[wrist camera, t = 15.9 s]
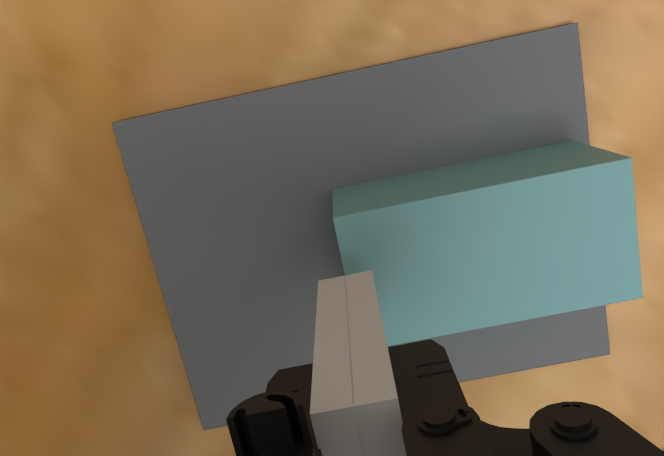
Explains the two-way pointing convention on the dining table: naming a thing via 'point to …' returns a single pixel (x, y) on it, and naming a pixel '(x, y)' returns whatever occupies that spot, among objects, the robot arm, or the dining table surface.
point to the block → (494, 239)
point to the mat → (317, 201)
